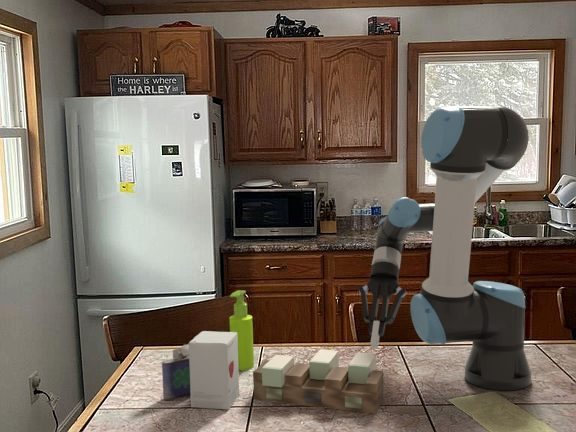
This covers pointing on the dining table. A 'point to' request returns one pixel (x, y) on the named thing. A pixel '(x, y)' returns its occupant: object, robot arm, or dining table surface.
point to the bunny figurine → (185, 351)
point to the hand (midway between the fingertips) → (374, 346)
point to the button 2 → (361, 367)
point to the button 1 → (276, 370)
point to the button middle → (323, 363)
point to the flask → (176, 377)
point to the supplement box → (214, 370)
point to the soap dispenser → (242, 331)
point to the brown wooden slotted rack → (322, 389)
